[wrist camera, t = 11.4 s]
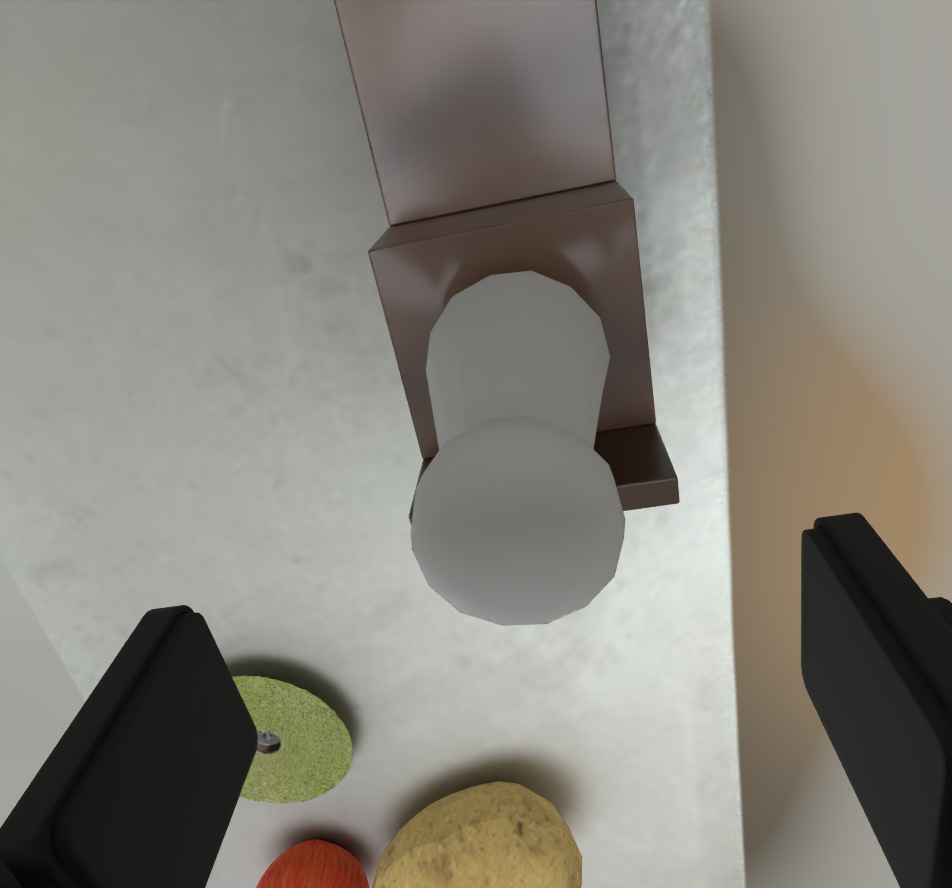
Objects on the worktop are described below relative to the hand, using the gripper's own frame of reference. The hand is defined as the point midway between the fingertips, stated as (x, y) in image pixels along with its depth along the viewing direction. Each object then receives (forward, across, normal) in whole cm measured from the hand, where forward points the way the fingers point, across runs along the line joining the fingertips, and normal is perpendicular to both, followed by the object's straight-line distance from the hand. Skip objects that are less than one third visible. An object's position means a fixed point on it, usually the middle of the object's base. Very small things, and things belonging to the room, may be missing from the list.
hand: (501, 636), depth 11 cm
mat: (+24, +20, +26) cm, 41 cm away
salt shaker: (+16, 0, +1) cm, 16 cm away
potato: (+24, +9, +36) cm, 44 cm away
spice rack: (+24, 0, -3) cm, 25 cm away
